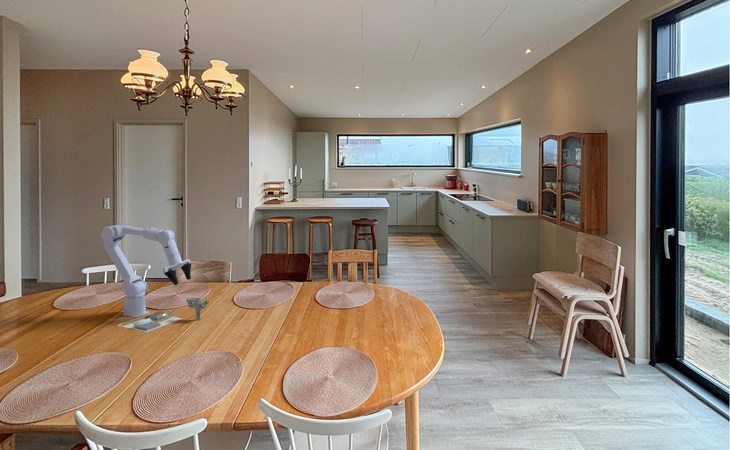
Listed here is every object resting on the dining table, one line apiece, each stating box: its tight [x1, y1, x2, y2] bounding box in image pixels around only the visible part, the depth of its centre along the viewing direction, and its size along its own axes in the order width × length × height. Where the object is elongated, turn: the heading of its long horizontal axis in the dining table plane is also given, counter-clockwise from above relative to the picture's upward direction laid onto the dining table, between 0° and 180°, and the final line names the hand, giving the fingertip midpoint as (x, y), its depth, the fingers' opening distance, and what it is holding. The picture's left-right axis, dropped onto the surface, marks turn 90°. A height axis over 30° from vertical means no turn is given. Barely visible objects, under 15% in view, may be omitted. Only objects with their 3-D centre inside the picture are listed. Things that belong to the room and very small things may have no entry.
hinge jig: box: [116, 312, 183, 333], centre depth 196 cm, size 19×19×3 cm
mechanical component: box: [186, 297, 209, 321], centre depth 199 cm, size 3×10×10 cm, turn 78°
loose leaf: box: [146, 310, 173, 320], centre depth 202 cm, size 8×7×2 cm
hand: (182, 282), depth 204 cm, fingers open, 7 cm apart
